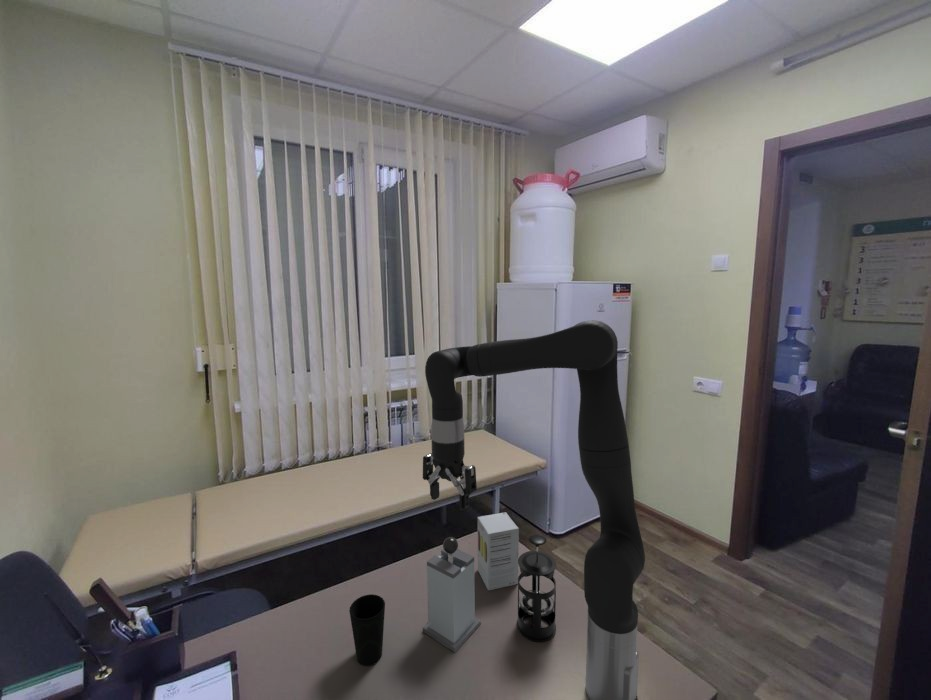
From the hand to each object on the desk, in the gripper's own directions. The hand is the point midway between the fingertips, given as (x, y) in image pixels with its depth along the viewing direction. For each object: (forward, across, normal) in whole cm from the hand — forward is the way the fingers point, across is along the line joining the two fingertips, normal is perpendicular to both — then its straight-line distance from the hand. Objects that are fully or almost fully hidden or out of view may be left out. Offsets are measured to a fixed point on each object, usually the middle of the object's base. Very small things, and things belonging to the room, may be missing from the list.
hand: (449, 503), depth 96 cm
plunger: (+25, 0, 0) cm, 25 cm away
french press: (+32, -16, -13) cm, 38 cm away
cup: (+32, +10, +17) cm, 38 cm away
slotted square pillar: (+32, 0, 0) cm, 32 cm away
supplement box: (+32, +1, -22) cm, 39 cm away
